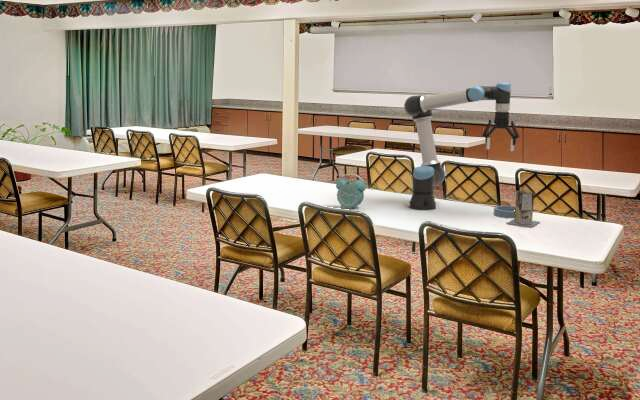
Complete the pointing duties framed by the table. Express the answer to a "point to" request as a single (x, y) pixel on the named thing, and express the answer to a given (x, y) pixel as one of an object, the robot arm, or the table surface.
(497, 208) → the bowl
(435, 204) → the robot arm
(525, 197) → the coffee box
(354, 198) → the alarm clock
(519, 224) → the mat
